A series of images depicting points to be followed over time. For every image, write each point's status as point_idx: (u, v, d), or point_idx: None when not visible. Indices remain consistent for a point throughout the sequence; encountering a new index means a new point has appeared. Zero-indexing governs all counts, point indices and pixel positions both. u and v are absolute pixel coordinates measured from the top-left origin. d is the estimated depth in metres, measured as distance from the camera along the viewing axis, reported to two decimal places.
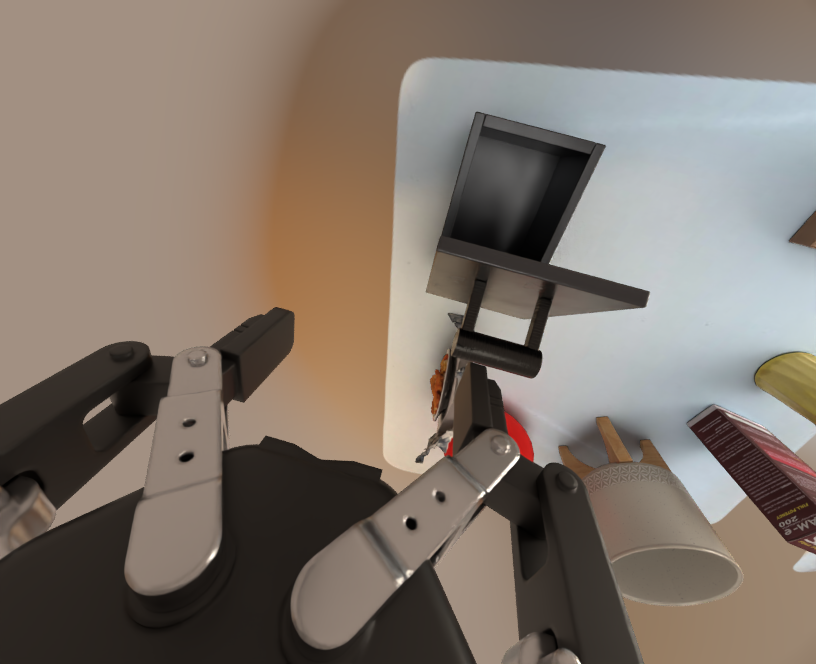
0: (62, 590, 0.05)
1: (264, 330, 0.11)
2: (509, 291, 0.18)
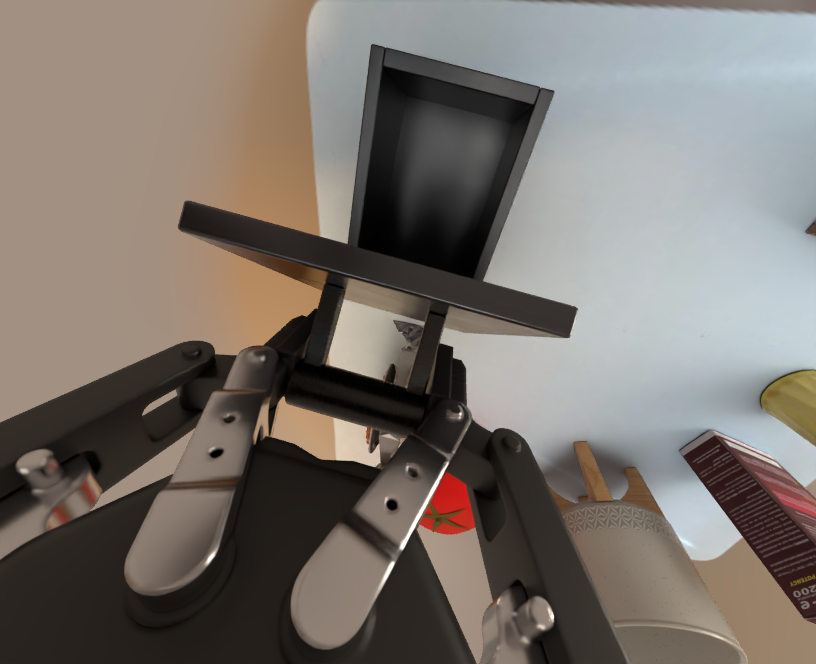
0: (54, 598, 0.04)
1: (310, 330, 0.12)
2: (386, 301, 0.12)
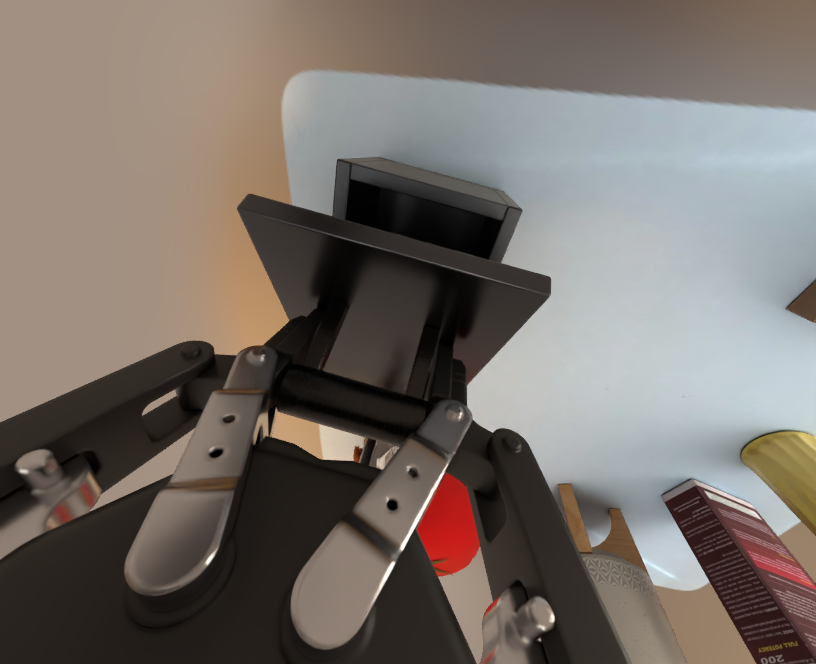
0: (54, 598, 0.04)
1: (310, 330, 0.12)
2: (384, 323, 0.13)
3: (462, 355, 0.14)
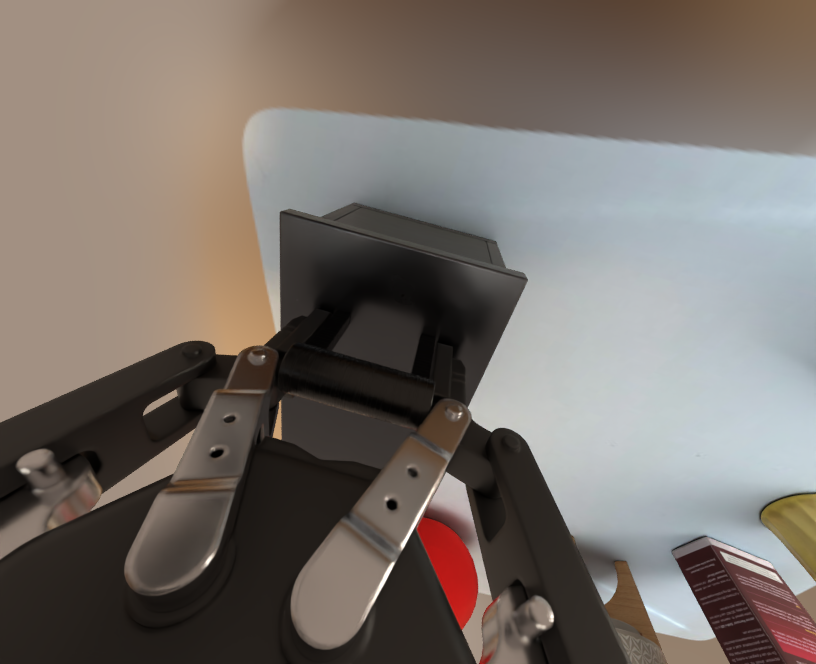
0: (54, 598, 0.04)
1: (311, 330, 0.12)
2: (381, 338, 0.14)
3: None
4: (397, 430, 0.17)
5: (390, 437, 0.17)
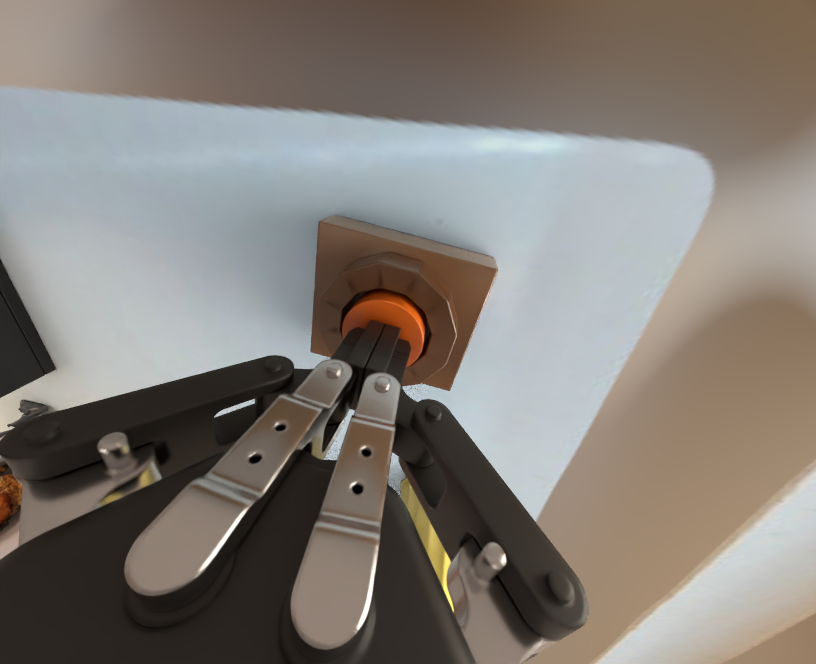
0: (39, 608, 0.04)
1: (372, 343, 0.12)
2: None
3: None
4: None
5: None
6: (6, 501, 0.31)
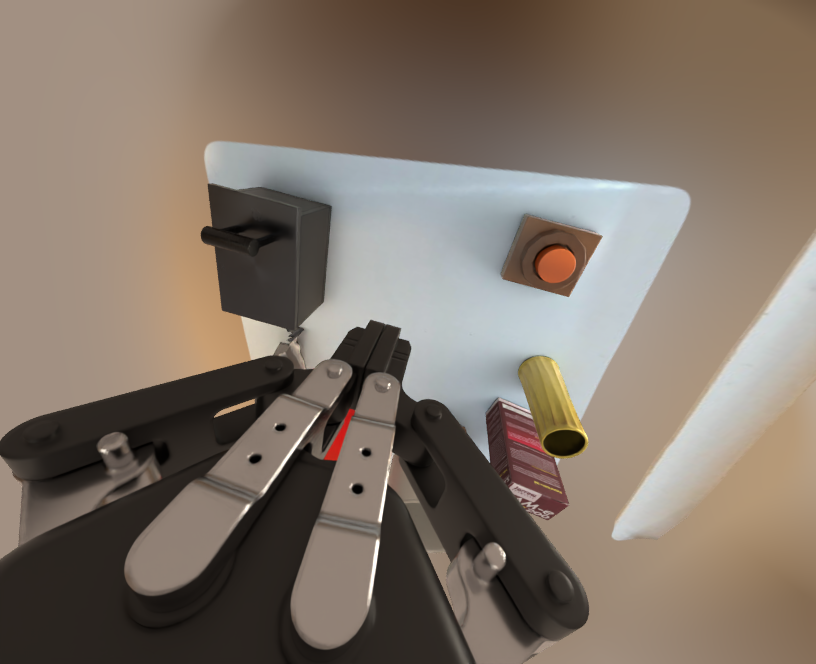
0: (39, 608, 0.04)
1: (372, 343, 0.12)
2: (253, 238, 0.34)
3: (286, 254, 0.34)
4: (271, 289, 0.36)
5: (269, 294, 0.37)
6: None
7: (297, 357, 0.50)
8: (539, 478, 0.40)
